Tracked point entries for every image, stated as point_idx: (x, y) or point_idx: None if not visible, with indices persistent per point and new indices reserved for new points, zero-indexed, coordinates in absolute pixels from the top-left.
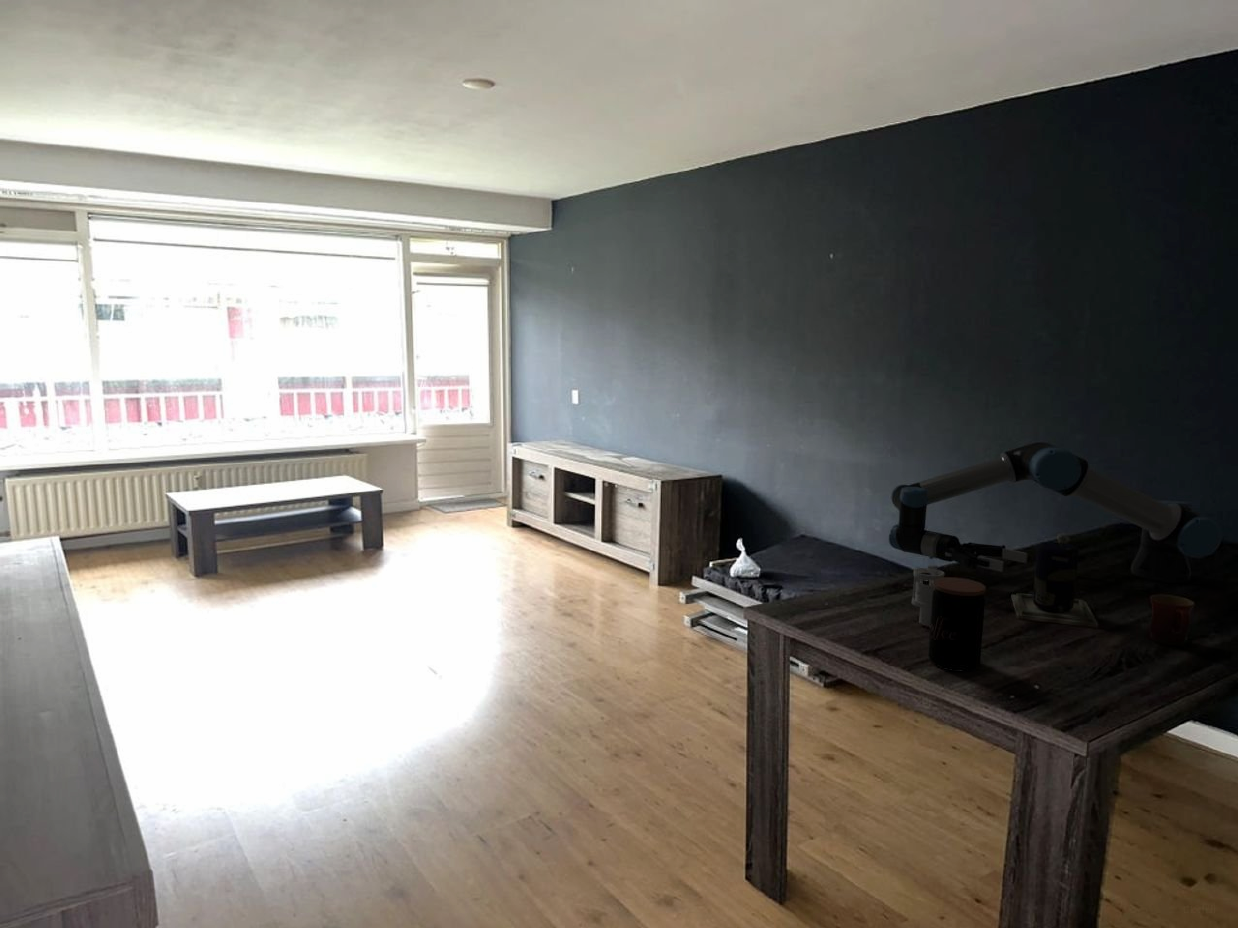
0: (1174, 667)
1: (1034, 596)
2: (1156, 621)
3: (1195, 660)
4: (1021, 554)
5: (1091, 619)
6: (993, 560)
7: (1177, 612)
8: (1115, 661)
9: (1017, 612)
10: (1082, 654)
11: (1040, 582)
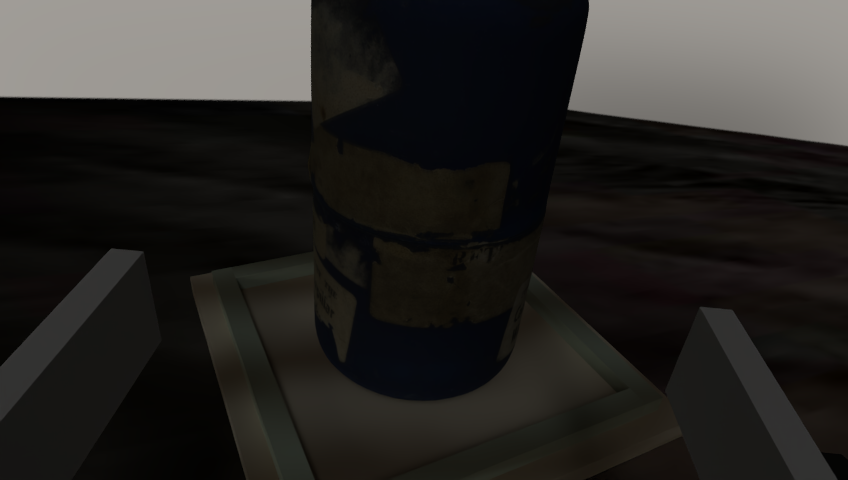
0: (609, 138)
1: (493, 351)
2: None
3: None
4: (119, 303)
5: None
6: (775, 390)
7: None
8: (712, 189)
9: (658, 432)
10: (762, 229)
11: (537, 240)
